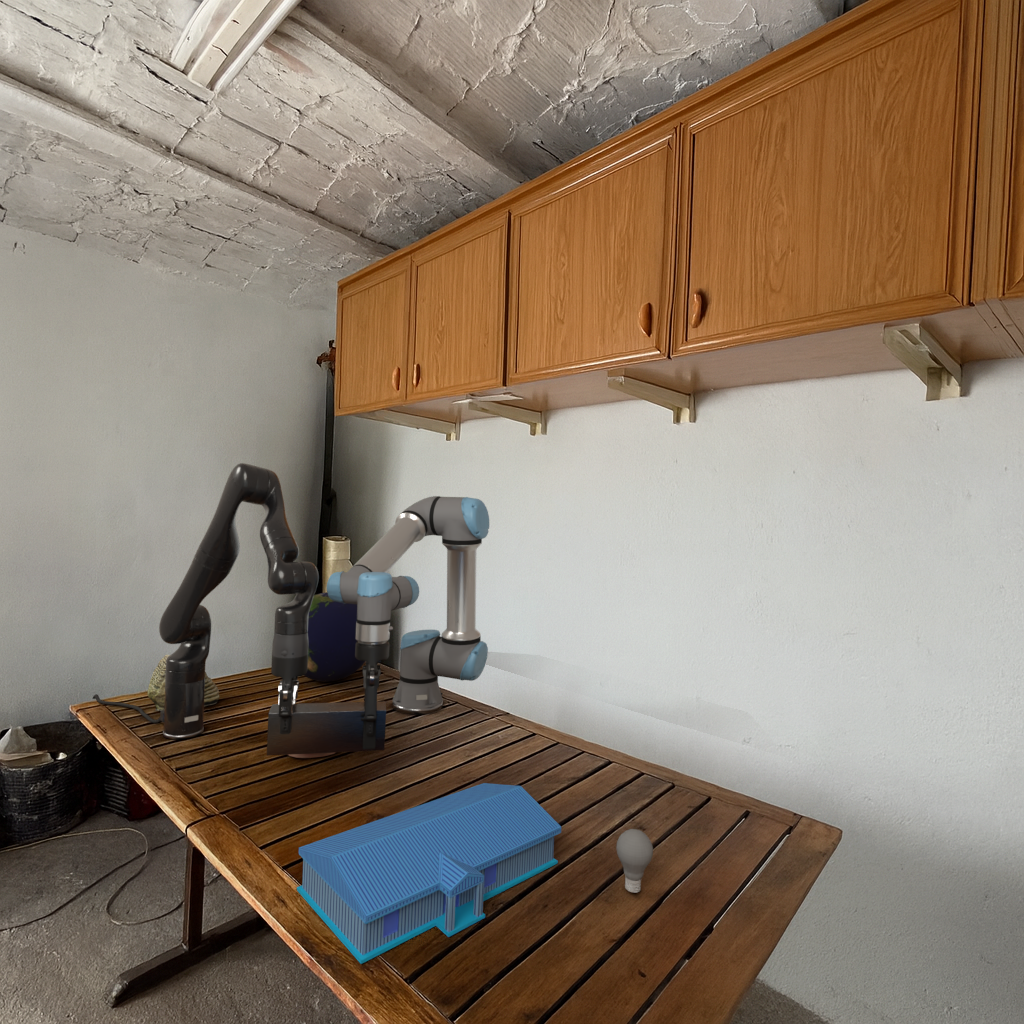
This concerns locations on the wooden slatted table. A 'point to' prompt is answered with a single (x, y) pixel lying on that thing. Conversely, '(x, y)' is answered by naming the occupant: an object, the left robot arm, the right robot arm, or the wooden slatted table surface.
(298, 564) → the left robot arm
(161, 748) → the wooden slatted table surface
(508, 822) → the model building
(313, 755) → the anatomical model
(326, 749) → the box
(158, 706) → the fossil
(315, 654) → the globe
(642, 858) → the light bulb
